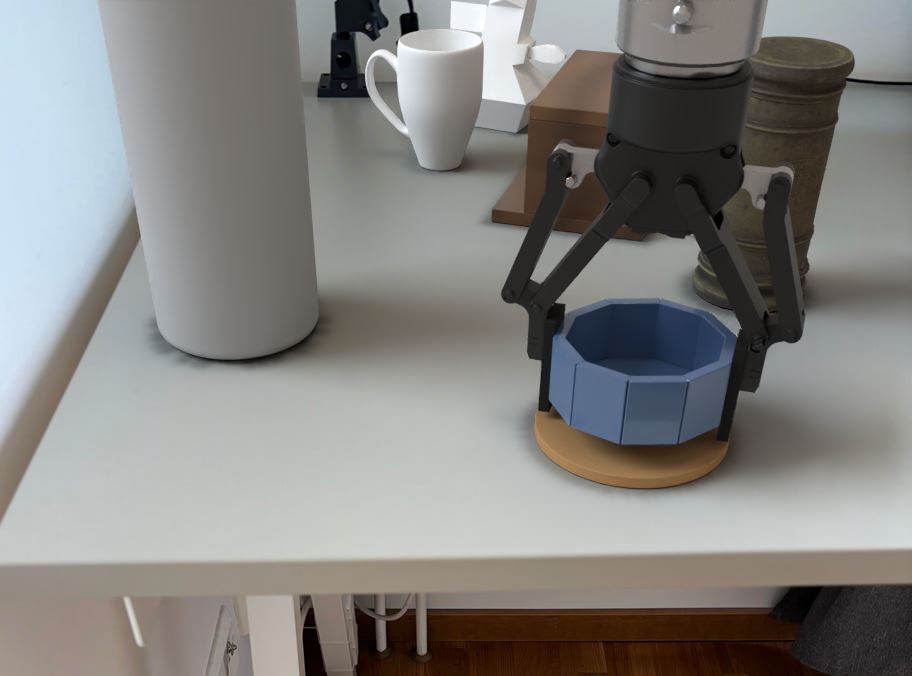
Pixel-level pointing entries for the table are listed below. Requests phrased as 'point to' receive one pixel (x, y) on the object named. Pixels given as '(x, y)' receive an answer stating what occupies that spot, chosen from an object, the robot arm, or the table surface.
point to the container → (784, 149)
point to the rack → (550, 121)
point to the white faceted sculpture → (506, 59)
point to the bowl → (641, 370)
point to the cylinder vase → (218, 169)
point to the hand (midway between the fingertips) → (634, 416)
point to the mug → (435, 92)
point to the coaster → (626, 455)
